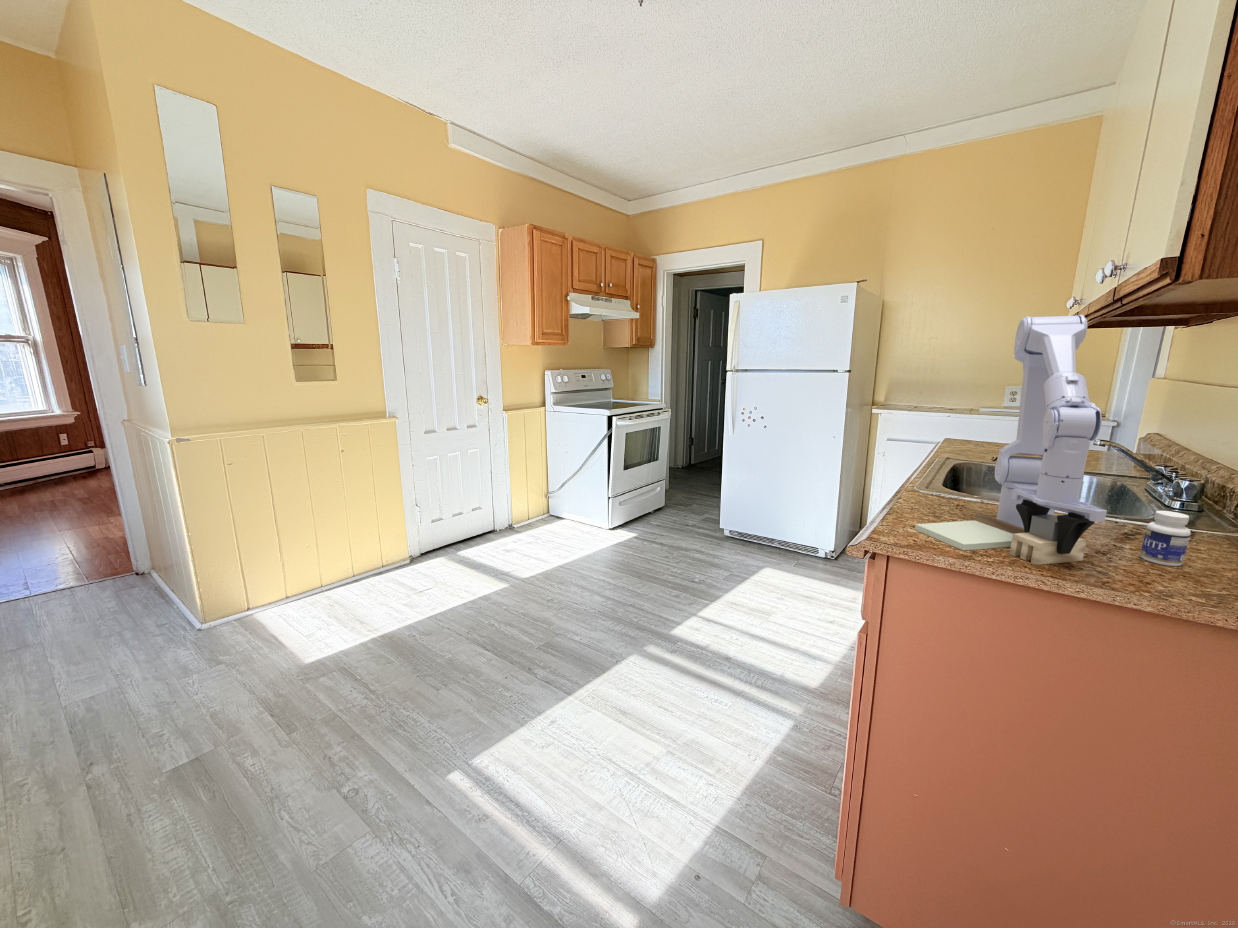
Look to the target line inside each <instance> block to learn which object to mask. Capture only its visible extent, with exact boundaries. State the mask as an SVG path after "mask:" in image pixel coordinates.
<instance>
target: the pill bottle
mask: <svg viewBox="0 0 1238 928" xmlns="http://www.w3.org/2000/svg"><path fill="white" fill-rule="evenodd" d="M1153 520H1155V521H1150V522H1148V523H1147V525H1146V528H1145V531H1144V536H1143V540H1142V544H1141V549H1140V551H1139V552H1140V553H1139V556H1140V558H1142V559H1143V560H1145V561H1148V562H1150V563H1155V564H1157V565H1158V564H1159V565H1162V566H1171V567H1179V566H1182V565H1183V563H1184V560H1185V555H1186V552H1187V548H1188V546H1189V545H1188V544H1189V541H1190V538H1191V530H1190V528H1188V527H1186V525H1188V523H1189V520H1190V516H1189V515H1188V514H1184V513H1181V512H1178V511H1177V512H1176V511H1170V510H1156V511H1155V514H1154V518H1153Z"/></svg>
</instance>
